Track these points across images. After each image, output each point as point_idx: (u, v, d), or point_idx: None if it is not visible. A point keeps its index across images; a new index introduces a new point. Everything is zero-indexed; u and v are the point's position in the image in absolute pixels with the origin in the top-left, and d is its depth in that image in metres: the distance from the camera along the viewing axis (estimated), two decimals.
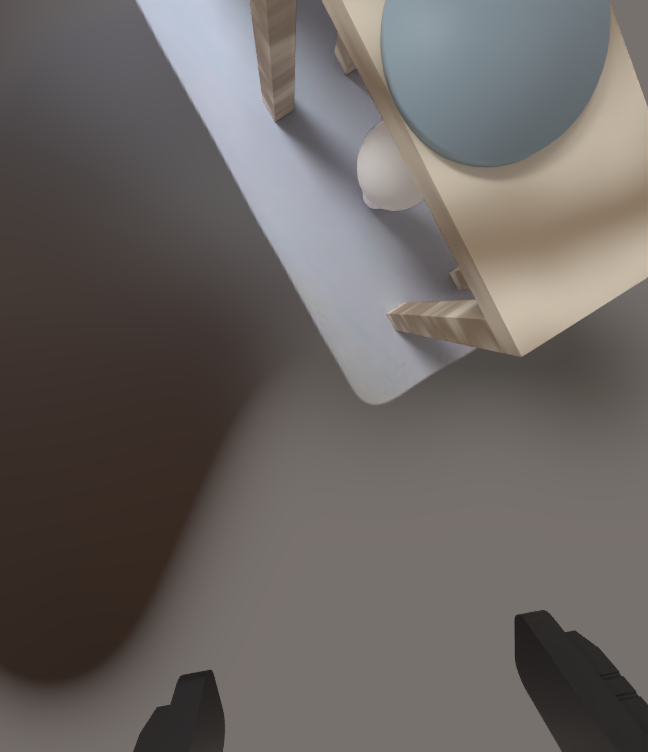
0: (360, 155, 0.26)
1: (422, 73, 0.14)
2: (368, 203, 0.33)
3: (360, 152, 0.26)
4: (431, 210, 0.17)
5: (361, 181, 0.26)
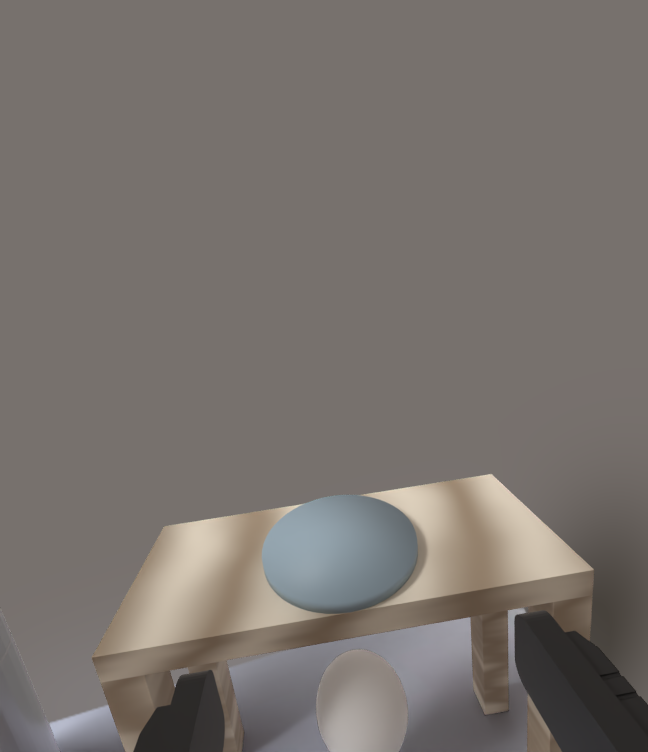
0: (336, 746, 0.22)
1: (340, 583, 0.18)
2: None
3: (333, 745, 0.22)
4: (438, 619, 0.18)
5: None
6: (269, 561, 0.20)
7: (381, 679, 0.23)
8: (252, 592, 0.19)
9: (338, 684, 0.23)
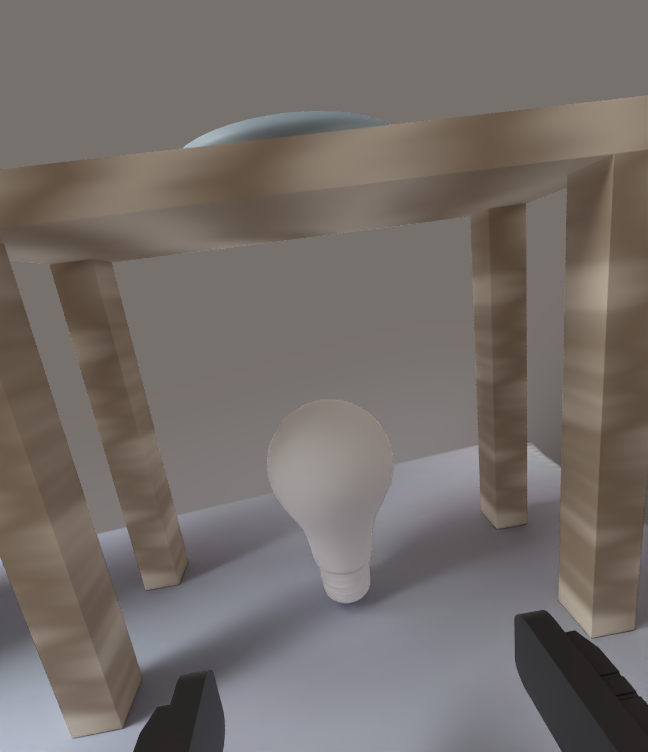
0: (289, 480, 0.15)
1: None
2: (355, 587, 0.18)
3: (285, 481, 0.15)
4: (431, 169, 0.11)
5: (326, 491, 0.15)
6: None
7: (355, 409, 0.17)
8: None
9: (295, 415, 0.17)
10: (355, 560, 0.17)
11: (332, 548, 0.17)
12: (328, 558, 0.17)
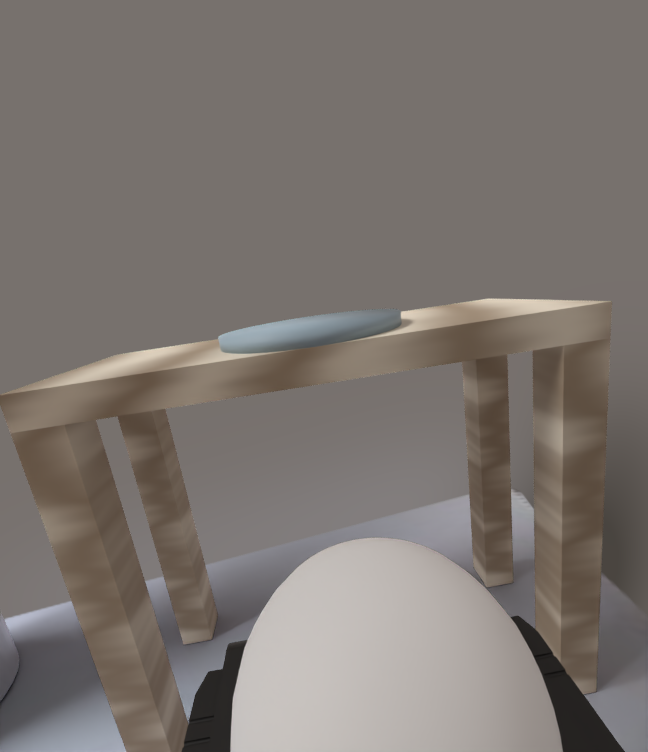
0: None
1: (305, 329, 0.15)
2: None
3: None
4: (423, 363, 0.14)
5: None
6: (226, 336, 0.17)
7: (463, 602, 0.06)
8: (202, 356, 0.16)
9: (305, 618, 0.06)
10: None
11: None
12: None
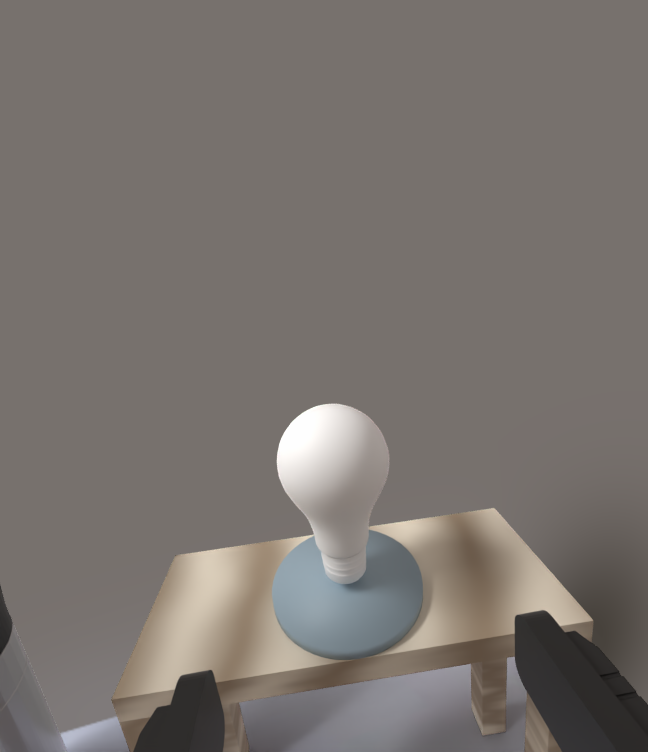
0: (298, 476, 0.18)
1: (348, 628, 0.19)
2: (353, 570, 0.20)
3: (294, 476, 0.18)
4: (442, 665, 0.18)
5: (329, 486, 0.17)
6: (279, 601, 0.21)
7: (357, 414, 0.19)
8: (263, 633, 0.20)
9: (303, 418, 0.19)
10: (353, 546, 0.20)
11: (333, 535, 0.19)
12: (329, 544, 0.20)
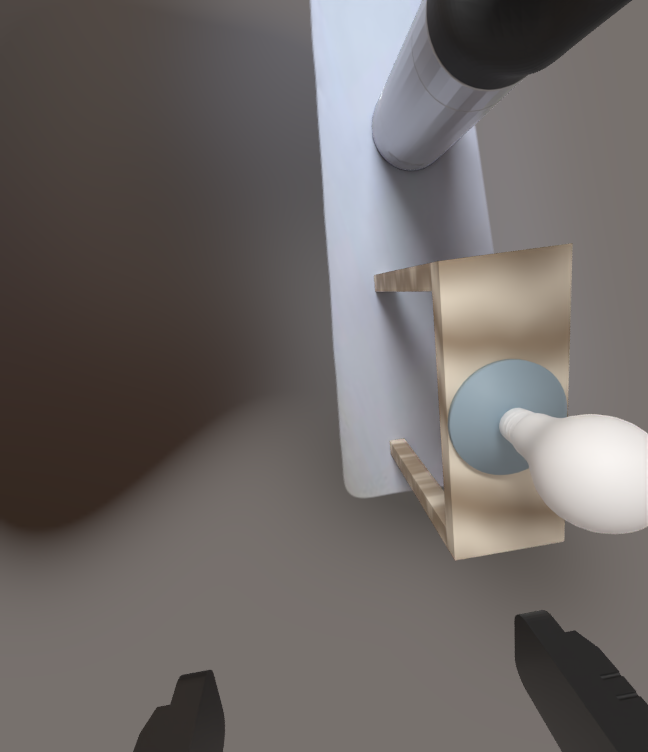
0: (563, 451, 0.18)
1: (466, 422, 0.27)
2: (505, 435, 0.25)
3: (564, 446, 0.18)
4: (443, 467, 0.30)
5: (544, 475, 0.19)
6: (495, 369, 0.26)
7: (629, 528, 0.17)
8: (473, 358, 0.26)
9: (638, 476, 0.16)
10: (517, 448, 0.24)
11: (524, 441, 0.23)
12: (521, 432, 0.23)
